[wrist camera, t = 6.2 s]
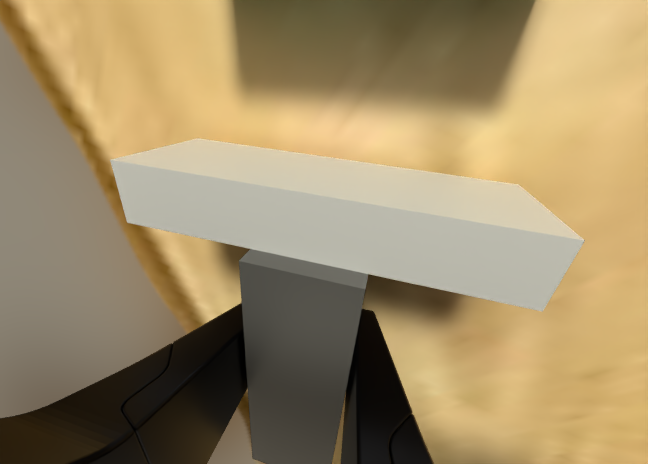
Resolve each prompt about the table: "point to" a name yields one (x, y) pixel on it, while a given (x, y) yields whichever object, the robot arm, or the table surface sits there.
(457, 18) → the table surface
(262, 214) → the pusher
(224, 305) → the table surface
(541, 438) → the table surface
